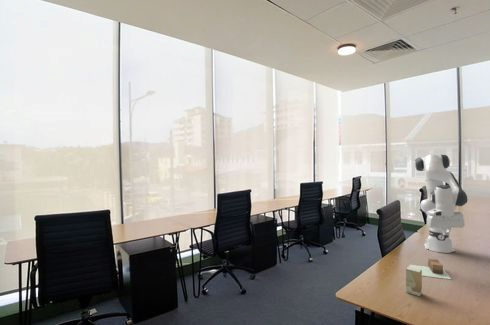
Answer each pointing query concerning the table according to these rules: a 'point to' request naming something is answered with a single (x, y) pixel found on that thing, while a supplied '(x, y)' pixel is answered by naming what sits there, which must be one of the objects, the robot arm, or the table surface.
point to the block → (435, 266)
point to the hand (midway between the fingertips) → (446, 234)
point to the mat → (428, 272)
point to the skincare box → (414, 281)
